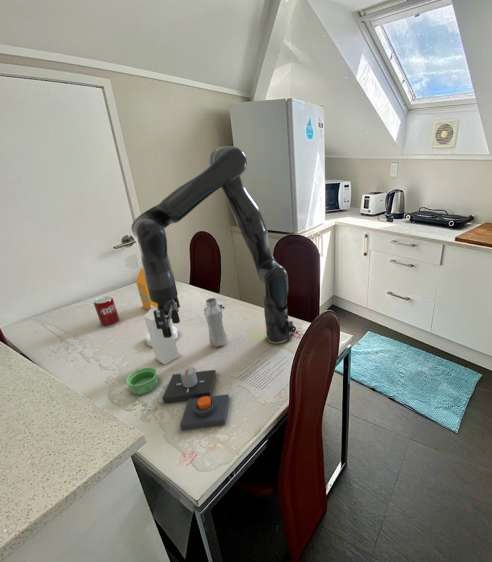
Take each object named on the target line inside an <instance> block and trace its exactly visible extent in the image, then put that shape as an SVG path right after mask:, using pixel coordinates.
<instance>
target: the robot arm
mask: <svg viewBox="0 0 492 562" xmlns="http://www.w3.org/2000/svg"><path fill="white" fill-rule="evenodd" d="M208 159H209V160H208V161H209V167H207V168H206V169H205V170H203V171H202V172H201V173H199V174H198V175H197V176H195V177H193V178H192V179H190V180H188V181H186V182H185V183H183V184H182V185H180V186H178V187H177V188H176V189H174V190H173V191H172V192H171V193H169V194H168V195H167V196H166V197H165V198H164V199H162V200H161V201H160V202H158V204H156V205H154V206H152V207H150V208H149V209H147V210H146V211H144V212H143V213H141V214H139V215H138V216H137V217H136V218H135V219H134V220H133V221H132V223H131V227H130V228H131V233H132V235H133V236H134V237H135V238H136V239H138V241H139V246H140V249H141V255H140V260H141V264H142V269H144V272H145V280H146V284H147V287H148V291H149V295H150V299H151V301H153V302H155V303H157V304H158V309H157V310H156V311H154V312H153V313H154V317H155V322H156V326H157V329H162V332H163V336H164V338H169V337H171V336H172V333H171V329H170V325H169V324H170V321H171V324H174V325H175V324H179V323H181V319H180V315H179V311H180V307H181V304H180V301H179V297H178V290H177V289H178V288H177V285H176V280H175V276H174V273H173V270H172V267H171V261H170V257H169V254H168V239H167V233H166V230H165V229H166V228H167V227H168V226H170V225H171V224H177V223H179V222H180V221H182V220H183V219H184V218H185V217H186V216H187V215H188V214H190V213H191V212H192V211H193V210H194V209H196V207H198V206H199V205H200V204H202V202H204V201H205V200H206V199H208V197H210V196H211V195H212V194H214V193H215V192H216V191H218V190H219V189H220V188H221V189H222V192H223V194H224V195H225V197H226V201H227V203H228V205H229V208H230V210H231V212H232V215H233V217H234V220H235V222H236V225H237V227H238V230H239V232H240V234H241V236H242V239H243V241H244V242H245V245H246V247H247V248H248V250H249V252H250V254H251V257H252V260H253V262H254V266H255V270H256V273H257V276H258V278H259V280H260V281H261V282H262V284H264V290H265V293H264V294H263V296H262V301H263V302H262V303H263V311H264V312H263V313H264V320H265V333H266V341H267V342H268V343H269V344H272V345H281V344H285V343H286V342H290V340H291V338H290V337H291V336H290V335H291V334H290V333H292V334H294V333H295V332H296V330H297V327H296V326H294V321H293V320H291V321H290V320H289V312H288V295H289V278H288V277H289V276H288V273H287V272H288V271H287V270H286V269H285V268H284V266H282V265H281V264H279V263H278V262H277V260H276V259H275V257H274V255H273V252H272V251H271V248H270V242H269V231H268V227H267V224H266V221H265V217H264V215H263V213H262V211H261V209H260V207H259V206H258V204H257V203H256V201H255V200H254V199H253V197H252V196H251V195H250V193H249V192H248V190H247V188H246V186H245V184H244V183H243V180H242V177H241V176H242V175H243V174H244V173H245V171H246V170H247V166H248V160H247V157H246V154H245V153H244V152H243V150H242V149H240V148H239V147H237V146H233V145H226V146H225V145H224V146H217V147H215V148H214V149H212V150H211V152H210V153H209V158H208ZM165 316H167V317H165ZM159 322H160V324H159Z"/></svg>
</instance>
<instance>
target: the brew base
mask: <svg viewBox="0 0 492 562" xmlns="http://www.w3.org/2000/svg"><path fill="white" fill-rule="evenodd" d="M195 372H196V376H197V384H196V385H194V386H193V387H189V388H186V387H184V386H183V382H182V378H181V374H180V373H174V374H172V376H171V378H170V380H169V382H168V384H167V387H166V389H165V391H164V394H163V396H162V400H163V404H164V405H166V404H175V403H183V402H184V403H185V402H188V400H189V399H194V398H201V397H204V396H213V391H214V386H215V382H216V379H217V371H216V369H211V370H201V371H195Z"/></svg>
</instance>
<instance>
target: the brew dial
mask: <svg viewBox="0 0 492 562" xmlns="http://www.w3.org/2000/svg"><path fill="white" fill-rule="evenodd" d="M196 372H197V371H196V368H195V367H194V366H192V365H191V366H186V367H184V368H182V369H181V370H180V372H179V374H181V378H182V382H183V386H184V387H186V388H189V387H193V386H194V385H196V384H197V376H196Z"/></svg>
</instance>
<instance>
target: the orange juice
mask: <svg viewBox="0 0 492 562" xmlns="http://www.w3.org/2000/svg"><path fill="white" fill-rule="evenodd" d="M135 282H136V286H137V290H138V294H139V297H140V300H141V305H142V307H143V308H144V309H145V310H147V311H149V310H150V309H151V306H150V305H152V306H154V307H155V308H157V309H158V304H157V303H155V302H153V301H151V299H150V295H149V291H148V287H147V284H146V280H145V272H144V268H143V267H142V268H140V270H139V272H138V275H137V277H136V280H135Z"/></svg>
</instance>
